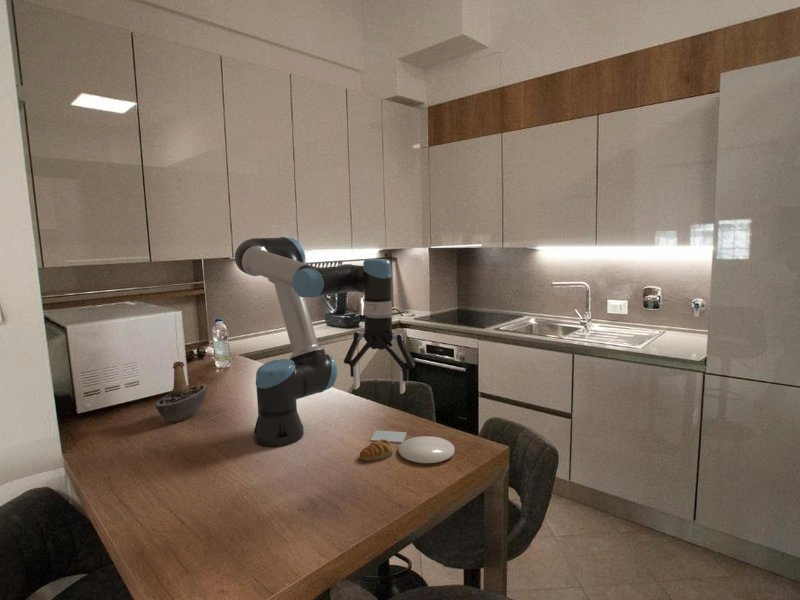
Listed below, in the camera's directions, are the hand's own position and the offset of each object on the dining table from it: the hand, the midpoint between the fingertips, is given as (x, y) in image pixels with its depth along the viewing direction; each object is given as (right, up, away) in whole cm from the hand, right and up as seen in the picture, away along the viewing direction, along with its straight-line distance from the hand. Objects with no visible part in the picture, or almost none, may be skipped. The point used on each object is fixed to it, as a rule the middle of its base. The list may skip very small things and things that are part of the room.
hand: (379, 390), depth 134 cm
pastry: (-1, -19, +2) cm, 19 cm away
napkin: (+2, -17, +13) cm, 22 cm away
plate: (+13, -18, +3) cm, 23 cm away
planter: (-69, -16, +32) cm, 78 cm away
